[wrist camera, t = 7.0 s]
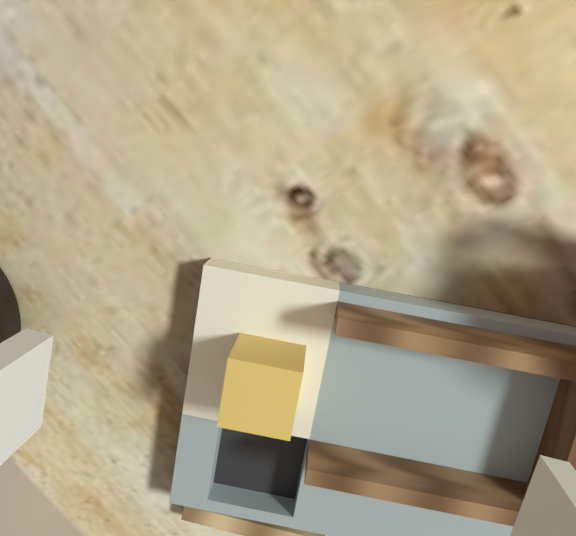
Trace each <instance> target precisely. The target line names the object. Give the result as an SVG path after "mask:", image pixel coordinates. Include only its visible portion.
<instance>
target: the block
mask: <svg viewBox="0 0 576 536" xmlns="http://www.w3.org/2000/svg"><path fill="white" fill-rule="evenodd" d="M305 354H306V345H302V344H297V343H291V342H286V341H281V340H276V339H270V338H265V337H260V336H255V335H250V334H244V333H240V334H239V336H238V338H237V340H236V342H235V344H234V346H233V348H232V350H231V352H230V355H229V357H228V360H227V366H226V372H225V379H224V385H223V391H222V398H221V404H220V410H219V416H218V423H217V427H220V428H225V429H230V430H235V431H240V432H245V433H251V434H256V435H261V436H266V437H271V438H276V439H281V440H286V441H290V439H291V434H292V429H293V424H294V418H295V413H296V408H297V403H298V398H299V393H300V388H301V382H302V377H303V372H304V363H305Z"/></svg>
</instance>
